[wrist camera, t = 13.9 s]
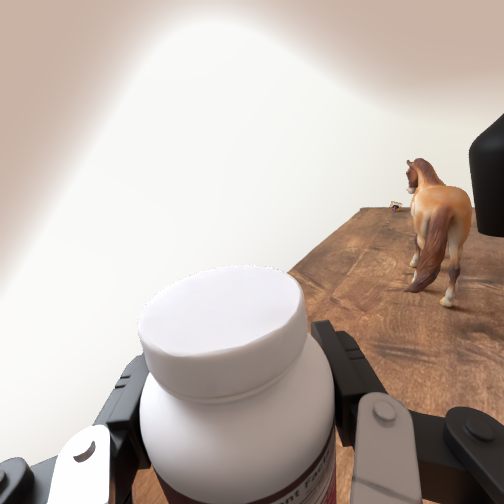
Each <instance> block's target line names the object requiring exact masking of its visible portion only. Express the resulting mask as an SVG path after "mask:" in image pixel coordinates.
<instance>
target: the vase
mask: <svg viewBox="0 0 504 504" xmlns="http://www.w3.org/2000/svg"><path fill="white" fill-rule="evenodd" d="M469 164H470V173H471V180H472V188H473V195H474V203H475V212H476V219H477V227H478V232H480V233H482V234H485V235H489V236H495V237H504V114H503V115H502V116H501V117H500V118H499V119H497V120H496V121H495V122H494V123H493V124H492V125H491V126H490V127H488V128H487V129H486V130H485V131H484V132H483V133H481V134H480V135H479V136H478V137H477V138H476V140H474V142H473V143H472V145H471V147H470V149H469Z"/></svg>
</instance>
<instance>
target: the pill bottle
mask: <svg viewBox="0 0 504 504" xmlns="http://www.w3.org/2000/svg"><path fill="white" fill-rule="evenodd" d="M138 335H139V338H140V341H141V344H142V347H143V351H144V354H145V358H146V363H147V367H148V369H149V371H150V372H149V374H148V377H147V379H146V382H145V385H144V388H143V392H142V396H141V402H140V428H141V434H142V438H143V442H144V445H145V448H146V450H147V453H148V456H149V459H150V461H151V463H152V466H153V468H154V471H155V473H156V475H157V478H158V480H159V482H160V485H161V487H162V489H163V491H164V494H165V496H166V498H167V501H168V503H169V504H337V501H336V447H335V443H336V439H335V396H334V382H333V377H332V372H331V368H330V365H329V362H328V360H327V357H326V355H325V354H324V352H323V350H322V348H321V347H320V345H319V344H318V342H317V341H316V340H315V339H314V338H313V337H312V336H311V335H310V334H309V333H308V322H307V315H306V308H305V300H304V294H303V291H302V288H301V286H300V284H299V283H298V282H297V281H296V280H295V279H294V278H293V277H292V276H291V275H289V274H287V273H285V272H283V271H280V270H278V269H274V268H270V267H266V266H254V265H237V266H227V267H220V268H215V269H210V270H206V271H202V272H199V273H196V274H193V275H190V276H188V277H185V278H183V279H181V280H178V281H176V282H174V283H172V284H170V285H169V286H167V287H166V288H164V289H163V290H162V291H160V292H159V293H157V294H156V295H155V296H154V297H153V298H152V299H151V300H150V301H149V302H148V303H147V304H146V306H145V307H144V309H143V310H142V312H141V314H140V316H139V320H138Z"/></svg>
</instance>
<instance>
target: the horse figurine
mask: <svg viewBox="0 0 504 504" xmlns="http://www.w3.org/2000/svg"><path fill="white" fill-rule="evenodd" d="M407 164H408V165H409V166H410V168H409V169H408V171H407V172H406V175H407V177H408V180H409V185H408V187H407V191H408V192H409V193H410V194H414V196H413V198H412V201H411V205H410V206H411V215H412V218H413V222H414V230H415V231H416V236H415V244H416V253H415V255H414V260H412V261H411V263H410V264H409V265H410V266H411V267H416V271H415V273H414V278H413V279H412V282H411V284H410V285H409V286H408V287H406V288H404V289H403V291H404V292H411V293H419V292H421V291H422V290H424V288H425V287H427V286H428V285H429V284H431V283H432V282H433V281H434V280H435V279H436V278H437V275H438V273H439V272H440V269H441V263H442V261H443V259H444V256H445V249H446V244H447V241H448V243H449V252H450V258H451V262H450V266H449V276H450V281H449V287H448V289H447V291H446V296H445V297H443V298H442V299H441V300H440V304H441V305H443V306H447V307H451V306H452V305H453V298H454V297H455V291H454V288H455V283H456V280H457V278H458V276H459V275H460V269H461V268H460V265H459V261H460V258H461V255H462V251H463V244H464V242H465V241H466V239H467V237H468V235H469V232H470V226H471V216H472V206H471V202H470V198H469V197H468V195H467V193H466V192H465V191H464V190H462V189H460V188H457V187H453V186H446V185H445V184H444V183H443V182H442V181H441V180H440V179H439V178H438V176H437V174H436V173H435V171H434V169H433V167H432V165H431V164H430V163H429V162H427V161H425V160H424V159H422V158H418V159H415V161H414V162H410V161H409V160H407ZM416 188H417V189H416ZM420 250H421V251H422V254H421V256H420Z"/></svg>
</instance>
